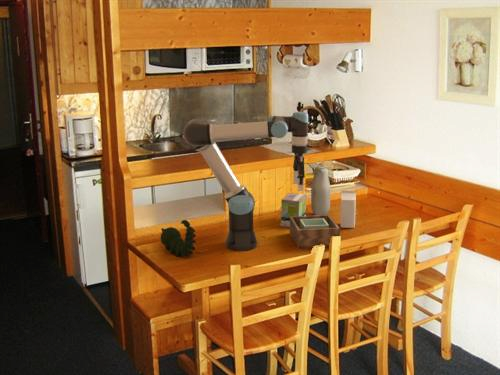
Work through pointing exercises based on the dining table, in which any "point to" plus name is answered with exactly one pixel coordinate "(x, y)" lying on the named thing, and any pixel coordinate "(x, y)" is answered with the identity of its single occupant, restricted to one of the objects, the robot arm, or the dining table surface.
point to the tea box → (292, 207)
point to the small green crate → (313, 223)
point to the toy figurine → (179, 240)
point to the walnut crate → (312, 232)
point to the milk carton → (348, 209)
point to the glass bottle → (320, 191)
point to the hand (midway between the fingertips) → (298, 187)
